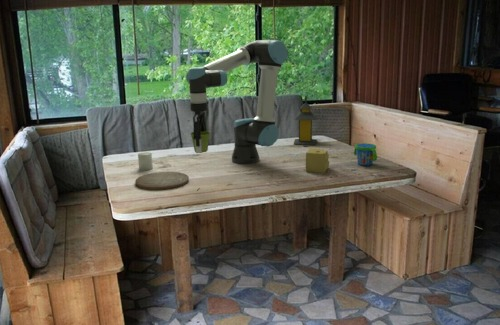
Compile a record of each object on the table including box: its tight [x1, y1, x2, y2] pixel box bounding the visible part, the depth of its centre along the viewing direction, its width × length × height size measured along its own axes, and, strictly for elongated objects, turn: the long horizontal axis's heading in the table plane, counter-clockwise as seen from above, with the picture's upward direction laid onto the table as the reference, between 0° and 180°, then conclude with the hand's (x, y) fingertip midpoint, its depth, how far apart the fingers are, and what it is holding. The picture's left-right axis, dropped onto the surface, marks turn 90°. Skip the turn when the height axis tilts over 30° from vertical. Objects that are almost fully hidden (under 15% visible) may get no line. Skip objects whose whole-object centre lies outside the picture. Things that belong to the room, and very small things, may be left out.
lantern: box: [293, 94, 318, 146], centre depth 296 cm, size 14×14×30 cm
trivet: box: [135, 171, 190, 191], centre depth 225 cm, size 25×25×2 cm
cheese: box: [305, 147, 330, 174], centre depth 239 cm, size 10×11×10 cm
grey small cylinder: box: [137, 151, 154, 172], centre depth 247 cm, size 7×7×8 cm
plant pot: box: [189, 130, 211, 154], centre depth 219 cm, size 9×9×9 cm
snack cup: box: [353, 143, 378, 166], centre depth 247 cm, size 16×10×10 cm
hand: (201, 150), depth 220 cm, fingers closed on plant pot, 8 cm apart
